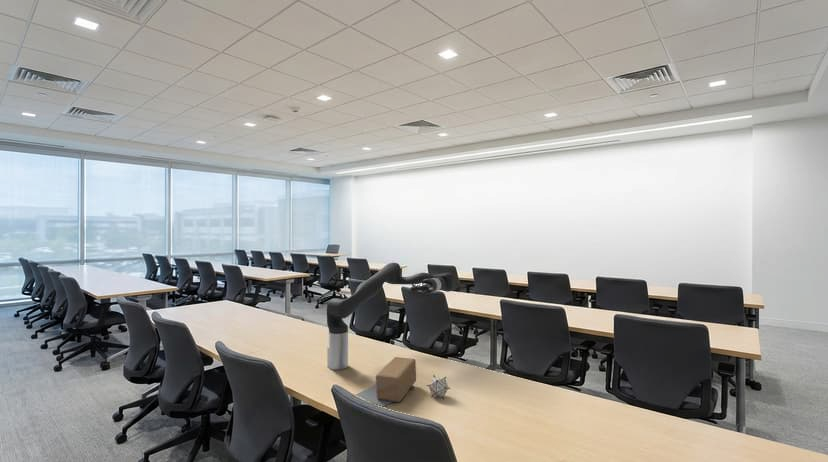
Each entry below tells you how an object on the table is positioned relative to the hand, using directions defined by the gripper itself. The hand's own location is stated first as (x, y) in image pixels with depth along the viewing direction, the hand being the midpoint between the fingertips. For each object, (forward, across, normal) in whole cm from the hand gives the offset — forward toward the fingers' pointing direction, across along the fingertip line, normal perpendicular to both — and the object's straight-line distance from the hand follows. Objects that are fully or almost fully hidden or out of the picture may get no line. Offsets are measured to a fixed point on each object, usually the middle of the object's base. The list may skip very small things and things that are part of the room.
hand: (412, 289), depth 187 cm
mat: (+31, +8, +38) cm, 50 cm away
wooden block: (+18, +10, +31) cm, 37 cm away
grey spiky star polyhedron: (+21, +28, +38) cm, 52 cm away
